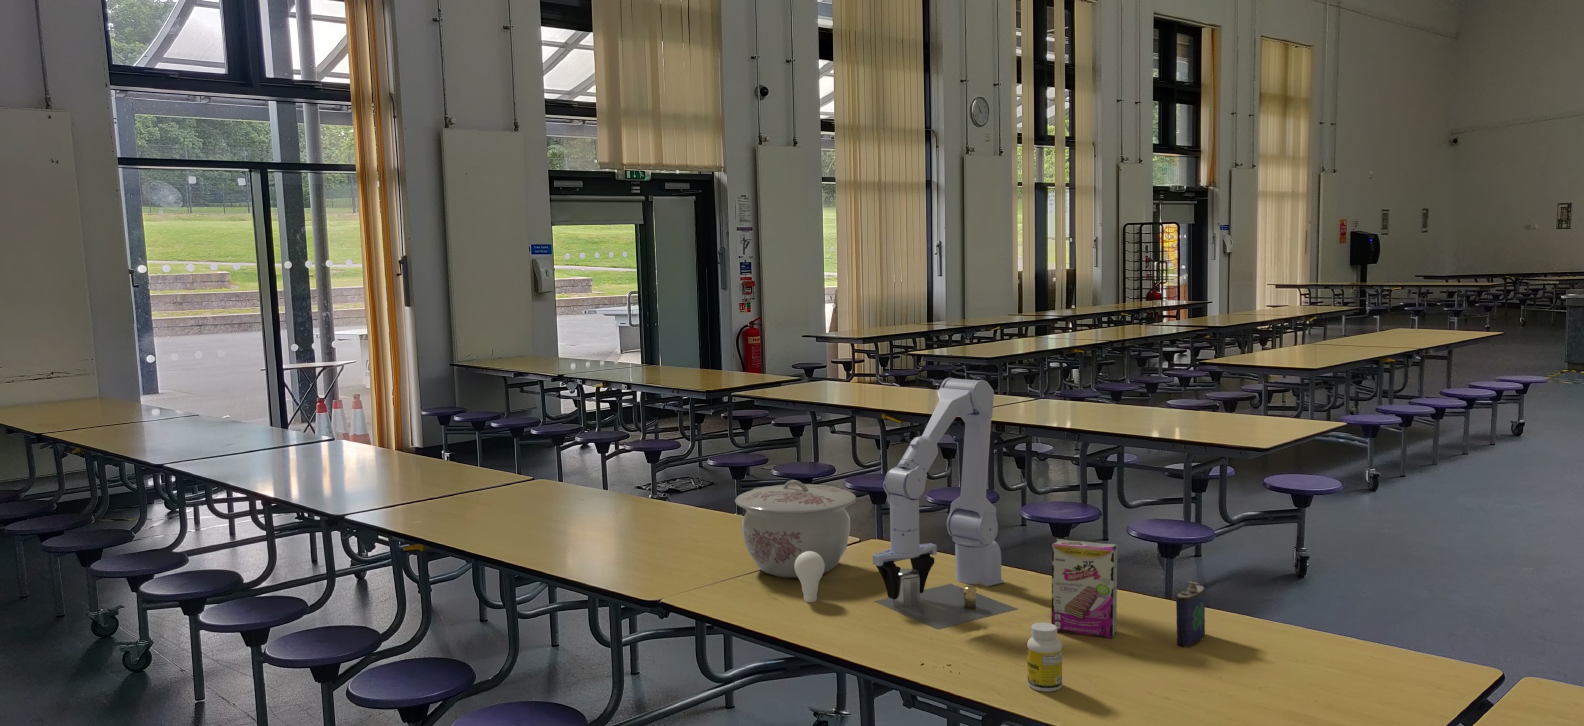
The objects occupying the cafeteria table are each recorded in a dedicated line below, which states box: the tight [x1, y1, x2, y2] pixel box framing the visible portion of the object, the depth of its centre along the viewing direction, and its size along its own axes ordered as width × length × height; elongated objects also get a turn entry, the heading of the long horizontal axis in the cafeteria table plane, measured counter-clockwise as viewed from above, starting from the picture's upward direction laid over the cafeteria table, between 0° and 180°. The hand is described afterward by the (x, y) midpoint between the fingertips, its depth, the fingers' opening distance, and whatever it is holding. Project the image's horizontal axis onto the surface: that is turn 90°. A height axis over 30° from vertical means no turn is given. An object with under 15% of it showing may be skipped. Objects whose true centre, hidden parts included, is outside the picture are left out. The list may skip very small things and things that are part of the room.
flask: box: [1175, 580, 1206, 649], centre depth 182 cm, size 9×3×11 cm, turn 138°
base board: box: [873, 583, 1018, 630], centre depth 202 cm, size 20×20×1 cm
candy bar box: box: [1050, 538, 1118, 639], centre depth 188 cm, size 11×5×16 cm, turn 65°
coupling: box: [892, 568, 920, 606], centre depth 204 cm, size 5×5×6 cm
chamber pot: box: [734, 479, 857, 579], centre depth 232 cm, size 28×28×21 cm
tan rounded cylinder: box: [962, 585, 977, 609], centre depth 200 cm, size 3×2×4 cm
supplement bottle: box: [1026, 622, 1063, 693], centre depth 164 cm, size 5×5×10 cm
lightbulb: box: [794, 551, 825, 603], centre depth 207 cm, size 6×6×11 cm
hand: (905, 594), depth 205 cm, fingers open, 6 cm apart
